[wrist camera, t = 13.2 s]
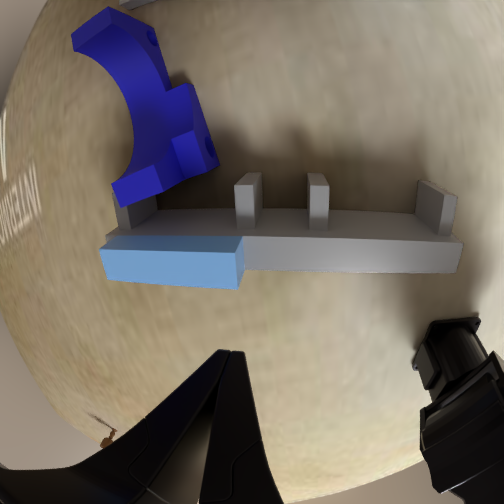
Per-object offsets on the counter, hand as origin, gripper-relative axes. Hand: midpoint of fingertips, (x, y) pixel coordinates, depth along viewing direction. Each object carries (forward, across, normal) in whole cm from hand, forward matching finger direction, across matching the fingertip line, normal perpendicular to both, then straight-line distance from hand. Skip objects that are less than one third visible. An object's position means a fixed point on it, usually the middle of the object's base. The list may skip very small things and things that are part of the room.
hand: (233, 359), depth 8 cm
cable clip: (+13, +7, -9) cm, 17 cm away
